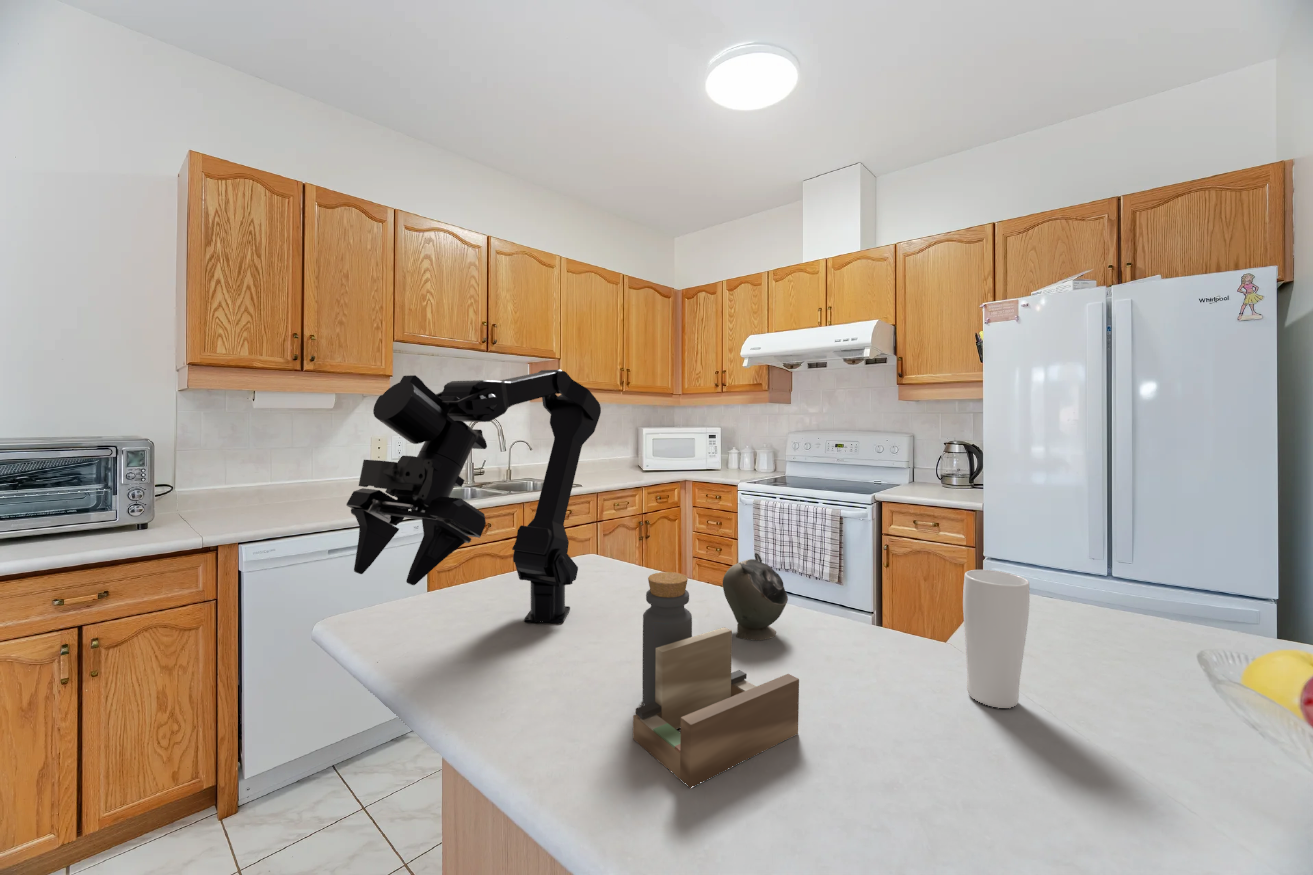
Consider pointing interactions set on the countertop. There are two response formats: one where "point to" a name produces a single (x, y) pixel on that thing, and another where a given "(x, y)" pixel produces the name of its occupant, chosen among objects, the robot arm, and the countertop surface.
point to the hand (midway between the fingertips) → (383, 578)
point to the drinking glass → (995, 635)
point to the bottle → (663, 622)
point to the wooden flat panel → (692, 676)
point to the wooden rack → (723, 730)
